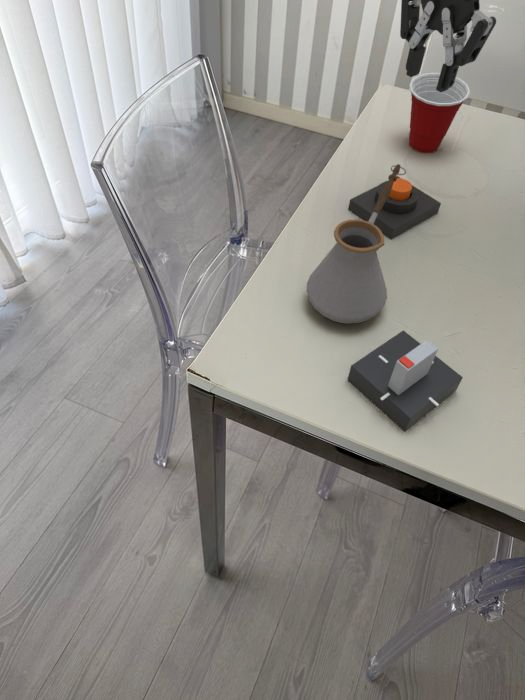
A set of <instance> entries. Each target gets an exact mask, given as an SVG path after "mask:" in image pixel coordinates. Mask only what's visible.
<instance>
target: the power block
mask: <svg viewBox="0 0 525 700" xmlns="http://www.w3.org/2000/svg"><path fill="white" fill-rule="evenodd" d="M396 177H397V178H401V176H399V175H397V176H396ZM387 182H388V180H386V181H383V182H382V183H379V184H378V185H376V186H374V187H372V188H370V189H368V190H365V191H364V192H362V193H360V194H358V195H356V196H354V197H352V198H351V199H349V203H348V209H347V210H348V211H349V212H351V213H352V214H354V215H355V216H356V217H357V218H359V219H360V220H364V221H369V219H370V217H371V215H372V212H373V210H374V208H375V205H376V203H377V200H378V198H379V196H380V193H381V191H382V189H383V187H384V186H385V185H386V183H387ZM441 205H442V203H441V202H440V201H439V200H437V199H435V198H434V197H432V196H430V195H428V193H426V192H424V191H422V190H421V189H419V188H418V187H416V186H414V185H413V184H412V190H411V193H410V197H409V198H408V199H407V200H401V201H398V200H394V199H391V198H390V197H388V198H387V200H386V202H385V204H384V205H383V207H382V209H381V211H380V213H379V214H378V215H377V217H376V220H375V222H374V225H375V226H377V227H378V228H379V229H380V230H381V232H382V234H383V236H385V237H386V238H388V239H389V240H393V239H395V238H396V237H398V236H400V235H402V234H404V233H406V232H407V231H410V230H411V229H412V228H414V227H417V226H418V225H420V224H421V223H423V222H425V221H428V220H429V219H431V218H432V217H434V216H436V215H438V213H439V211H440V207H441Z"/></svg>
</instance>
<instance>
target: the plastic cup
mask: <svg viewBox="0 0 525 700" xmlns="http://www.w3.org/2000/svg"><path fill="white" fill-rule="evenodd" d="M440 73H441V72H426V73H422V74H418V75H416V76H414V78H412V80H411V81H410V83H409V90H410V94H411V99H410V100H411V107H410V119H409V135H408V137H409V138H408V142H409V146H410V148H412V149H413V150H415V151H417V152H419V153H423V154H433V153H435V152H436V151H438V149H439V148H440V146H441V144H442V143H443V140H444V139H445V136H446V135H447V133H448V131H449V129H450V127H451V126H452V123H453V121H454V120H455V116H456V115H457V113H458V112H459V110H460V108H461V106H462V105H463V103H464V102H465V101H466V100H468V98H469V96H470V93H471V89H470V87H469V85H468V84H467V83H466V82H465V81H464V80H463V79H462V78H459V77H457V76H456V78H455V81H454V84H453V86H452V87H450V88H449V89H448V90H446V91H443V92H439V91H437V90H436V87H437V84H438V80H439V77H440Z"/></svg>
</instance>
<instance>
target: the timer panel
mask: <svg viewBox="0 0 525 700" xmlns="http://www.w3.org/2000/svg"><path fill="white" fill-rule="evenodd" d="M420 344H421V342H419V341H418V340H417V339H415V338H414V337H413V336H411V335H410V333H408V332H406V330H404V329H403V330H402V331H400V332H399V333H397V334H396V335H394V336H393V337H391V338H390V339H388V340H386V341H385V342H384V343H382V344H381V345H379V346H378V347H377V348H375V349H373V350H372V351H370V352H369V353H368V354H366V355H364V356H363V357H361V358H360V359H359V360H357V361H355V363H353V364H351V365H350V369H349V372H348V376H347V381H348V382H349V383H351V385H353V386H354V387H355V388H356V389H357V390H358V391H359V392H360V393H361V394H363V395H364V396H365V397H366V398H367V399H368V400H369V401H370V402H372V404H373V405H375V406H376V407H377V408H378V409H379V410H380V411H381V412H383V414H385V415H386V416H387V418H389V419H390V420H391V421H392V422H394V423H395V424H396V425H397V426H398V427H399V428H400V429H401V430H402V431H404V432H406V431H408V430H409V429H410V428H412V426H414V425H415V424H416V423H418V422H419V421H420V420H421V419H423V418H424V417H425V416H426V415H428V414H429V413H430V412H431V411H433V410H434V409H435V408H436V407H439V406H440V404H442V403H443V402H444V401H446V399H448V398H450V396H452V395H453V394H454V393H456V392H457V390H458V387H459V386H460V384H461V382H462V380H463V376H462V375H461V374H459V373H458V372H456V370H454V369H453V368H452V367H451V366H449V365H448V364H447V363H445V362H444V361H443V360H442V359H441V358H439V357H438V356H437V355H435V358H434V360H433V362H432V364H431V367H430V369H429V371H428V374H427V375H425V376H424V377H423V378H421V379H420V380H418V381H417V382H416V383H414V384H413V385H412V386H410V387H409V388H408V389H406V390H405V391H404V392H402V393H401V394H400V395H397V394H396V393H395V392H394V391H393V390H392V389H390V388H389V387H388V384H389V381H390V379H391V376H392V373H393V370H394V367H395V365H396V362H397V361H398V360H399V359H400V358H402V357H403V356H405V355H406V354H408V353H409V352H410V351H412V350H413V349H415V348H416V347H417V346H419V345H420Z"/></svg>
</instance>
